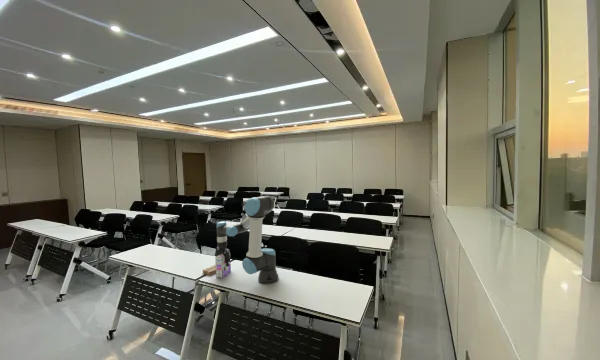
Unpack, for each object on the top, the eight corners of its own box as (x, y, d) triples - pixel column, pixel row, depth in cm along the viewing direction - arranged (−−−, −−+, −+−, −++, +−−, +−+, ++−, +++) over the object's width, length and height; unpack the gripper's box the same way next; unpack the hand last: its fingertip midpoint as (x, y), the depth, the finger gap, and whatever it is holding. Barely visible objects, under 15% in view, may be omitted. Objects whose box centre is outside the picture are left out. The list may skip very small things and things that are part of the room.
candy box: (222, 278, 194) (221, 257, 193) (215, 277, 195) (214, 257, 194) (231, 271, 207) (230, 251, 206) (224, 270, 208) (223, 251, 208)
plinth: (224, 269, 211) (224, 265, 211) (209, 275, 199) (209, 272, 199) (217, 267, 216) (217, 263, 216) (202, 273, 204) (202, 269, 204)
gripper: (234, 241, 197) (235, 270, 198) (217, 238, 209) (219, 265, 210) (226, 244, 191) (228, 273, 192) (210, 240, 202) (211, 268, 203)
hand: (223, 269), depth 201 cm, fingers closed on candy box, 7 cm apart
